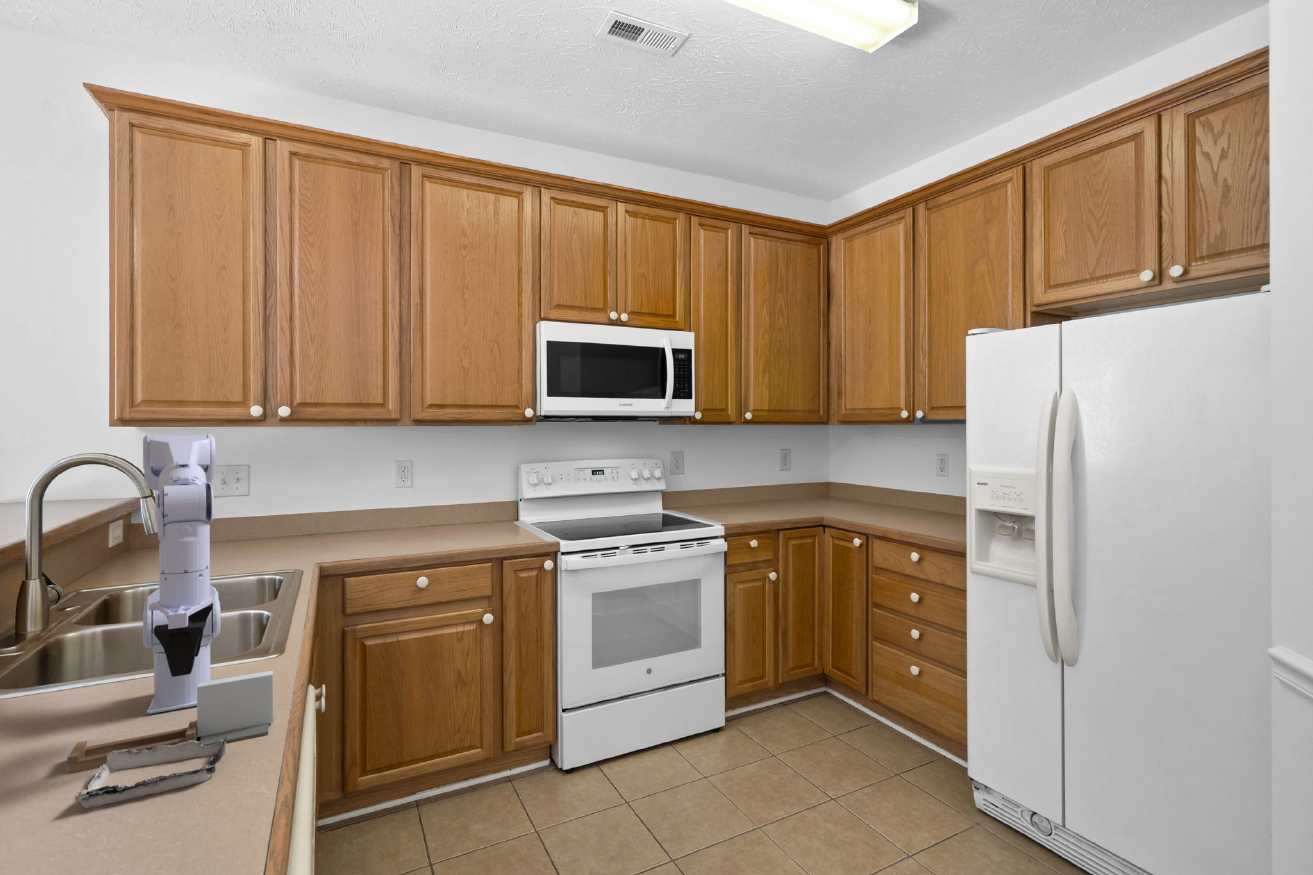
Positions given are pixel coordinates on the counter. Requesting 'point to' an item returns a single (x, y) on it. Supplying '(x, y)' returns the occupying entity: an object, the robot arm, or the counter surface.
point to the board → (234, 703)
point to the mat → (236, 734)
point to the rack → (125, 747)
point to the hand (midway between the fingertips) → (185, 665)
